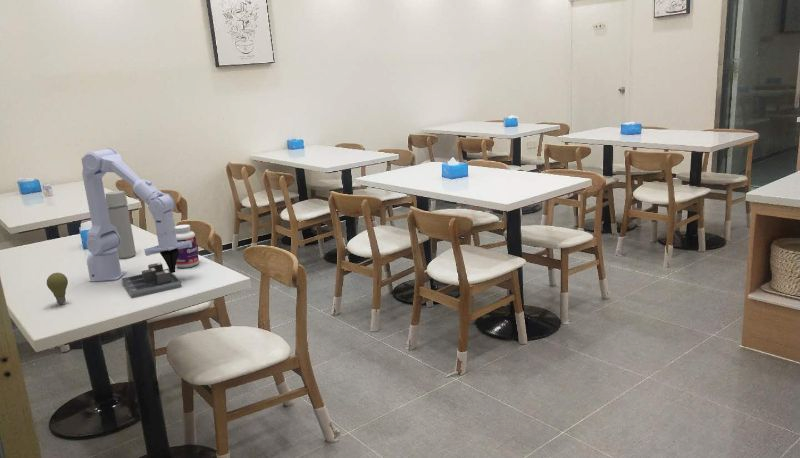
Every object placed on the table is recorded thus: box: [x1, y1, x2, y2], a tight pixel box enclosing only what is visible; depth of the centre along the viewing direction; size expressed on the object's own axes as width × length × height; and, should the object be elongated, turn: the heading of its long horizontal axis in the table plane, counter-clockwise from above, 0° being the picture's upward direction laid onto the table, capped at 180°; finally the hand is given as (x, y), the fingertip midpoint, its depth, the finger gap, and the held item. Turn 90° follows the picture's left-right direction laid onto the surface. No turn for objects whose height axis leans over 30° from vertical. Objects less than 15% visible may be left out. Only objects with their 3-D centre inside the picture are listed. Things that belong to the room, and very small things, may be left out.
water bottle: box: [105, 190, 137, 260], centre depth 231 cm, size 9×8×25 cm
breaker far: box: [147, 261, 164, 272], centre depth 203 cm, size 4×3×4 cm
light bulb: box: [46, 272, 69, 306], centre depth 185 cm, size 6×6×10 cm
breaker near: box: [155, 269, 172, 285], centre depth 194 cm, size 4×3×4 cm
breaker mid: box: [141, 268, 157, 283], centre depth 197 cm, size 4×3×4 cm
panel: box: [120, 268, 182, 299], centre depth 198 cm, size 15×17×2 cm
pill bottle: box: [175, 224, 200, 269], centre depth 216 cm, size 8×8×14 cm
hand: (172, 272), depth 201 cm, fingers closed
